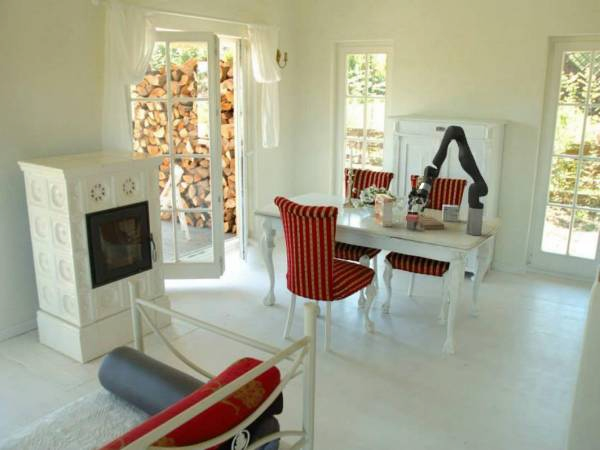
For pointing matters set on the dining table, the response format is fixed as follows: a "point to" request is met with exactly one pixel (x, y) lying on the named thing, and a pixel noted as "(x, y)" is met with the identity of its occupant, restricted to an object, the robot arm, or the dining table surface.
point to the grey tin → (411, 225)
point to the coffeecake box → (383, 210)
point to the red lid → (412, 217)
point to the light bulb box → (450, 213)
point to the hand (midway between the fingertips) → (415, 210)
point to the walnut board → (429, 223)
